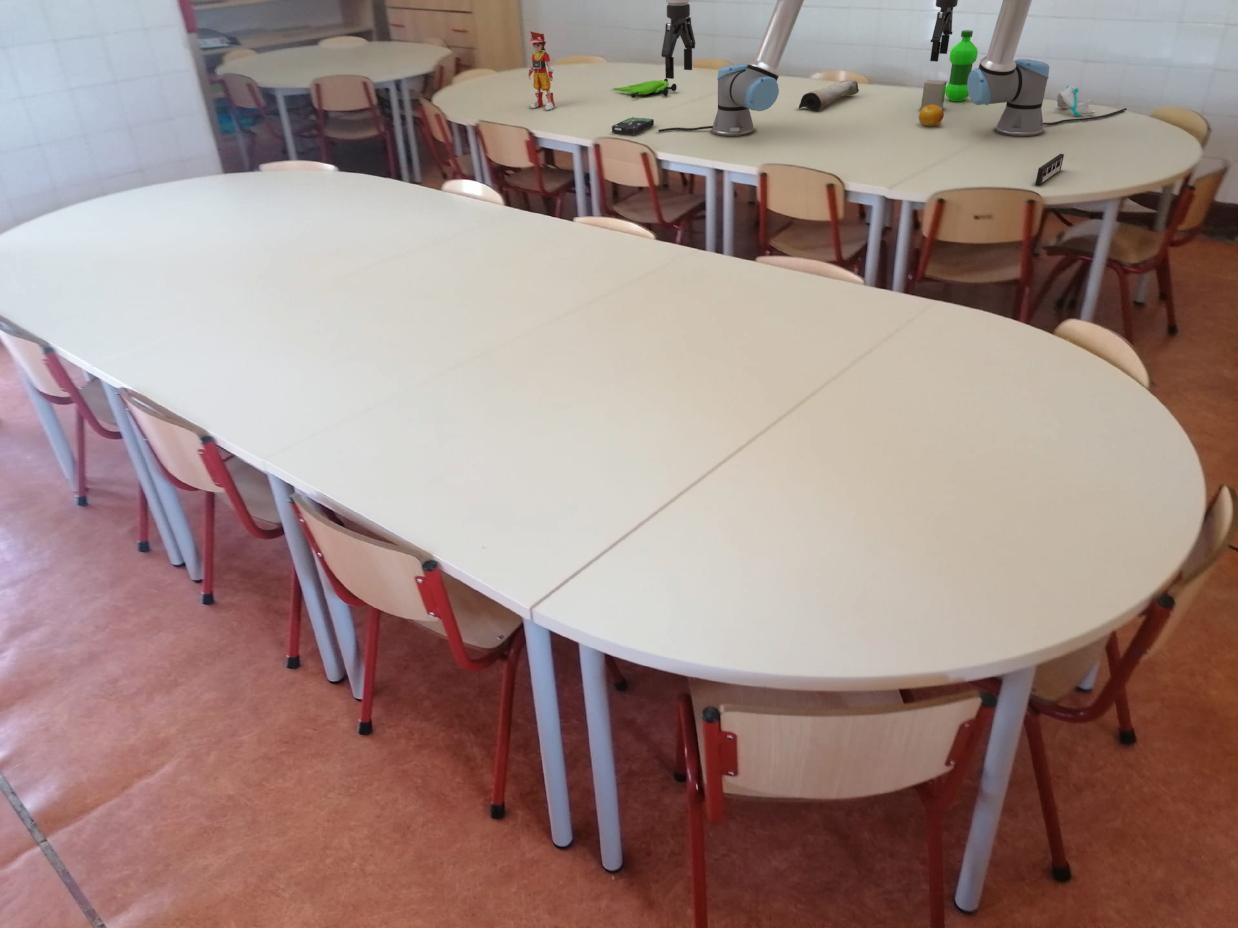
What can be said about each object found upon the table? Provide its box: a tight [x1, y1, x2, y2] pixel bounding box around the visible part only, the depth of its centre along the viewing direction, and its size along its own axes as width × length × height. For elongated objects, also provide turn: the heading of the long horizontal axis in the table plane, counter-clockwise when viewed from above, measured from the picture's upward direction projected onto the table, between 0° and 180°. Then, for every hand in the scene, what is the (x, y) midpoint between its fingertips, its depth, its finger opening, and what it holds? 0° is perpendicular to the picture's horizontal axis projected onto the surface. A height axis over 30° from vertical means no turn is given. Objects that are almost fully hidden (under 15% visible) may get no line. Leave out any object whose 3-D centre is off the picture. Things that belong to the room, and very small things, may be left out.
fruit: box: [918, 104, 945, 127], centre depth 327 cm, size 8×8×8 cm
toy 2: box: [612, 78, 677, 99], centre depth 396 cm, size 28×5×30 cm
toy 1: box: [527, 31, 556, 111], centre depth 374 cm, size 12×9×30 cm
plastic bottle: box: [945, 29, 979, 102], centre depth 350 cm, size 10×10×25 cm
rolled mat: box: [798, 79, 860, 112], centre depth 363 cm, size 30×9×10 cm
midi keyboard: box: [1035, 153, 1065, 186], centre depth 273 cm, size 18×1×5 cm, turn 138°
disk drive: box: [611, 116, 655, 136], centre depth 345 cm, size 10×3×15 cm
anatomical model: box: [1056, 84, 1096, 117], centre depth 331 cm, size 15×10×10 cm
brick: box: [920, 79, 948, 110], centre depth 345 cm, size 7×5×10 cm
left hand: (679, 74), depth 301 cm, fingers open, 13 cm apart
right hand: (938, 57), depth 337 cm, fingers open, 13 cm apart
